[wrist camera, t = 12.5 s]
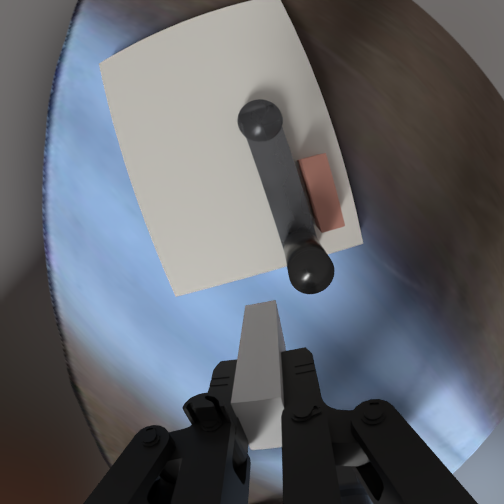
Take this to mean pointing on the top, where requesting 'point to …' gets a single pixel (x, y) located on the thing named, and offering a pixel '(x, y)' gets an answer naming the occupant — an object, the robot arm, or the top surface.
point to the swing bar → (285, 196)
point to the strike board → (223, 142)
